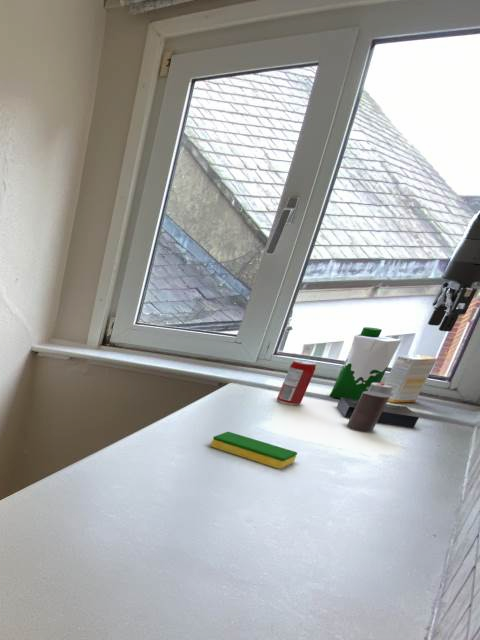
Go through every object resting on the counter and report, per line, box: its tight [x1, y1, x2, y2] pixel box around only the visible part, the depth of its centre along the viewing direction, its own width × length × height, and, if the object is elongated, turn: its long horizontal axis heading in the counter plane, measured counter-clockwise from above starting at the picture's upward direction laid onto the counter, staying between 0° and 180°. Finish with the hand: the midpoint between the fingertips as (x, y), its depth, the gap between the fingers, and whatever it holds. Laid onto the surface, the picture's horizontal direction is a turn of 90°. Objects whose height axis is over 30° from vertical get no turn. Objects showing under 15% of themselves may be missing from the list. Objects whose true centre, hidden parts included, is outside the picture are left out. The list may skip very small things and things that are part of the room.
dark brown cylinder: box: [346, 391, 390, 433], centre depth 136 cm, size 5×5×9 cm
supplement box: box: [384, 354, 438, 404], centre depth 160 cm, size 8×5×13 cm, turn 100°
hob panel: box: [336, 397, 420, 429], centre depth 146 cm, size 14×10×3 cm
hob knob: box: [368, 381, 393, 395], centre depth 145 cm, size 4×4×6 cm
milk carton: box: [329, 326, 402, 400], centre depth 158 cm, size 9×9×20 cm
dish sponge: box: [210, 431, 298, 470], centre depth 119 cm, size 7×14×2 cm, turn 34°
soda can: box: [276, 359, 317, 406], centre depth 154 cm, size 6×6×12 cm
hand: (438, 328), depth 139 cm, fingers open, 8 cm apart
